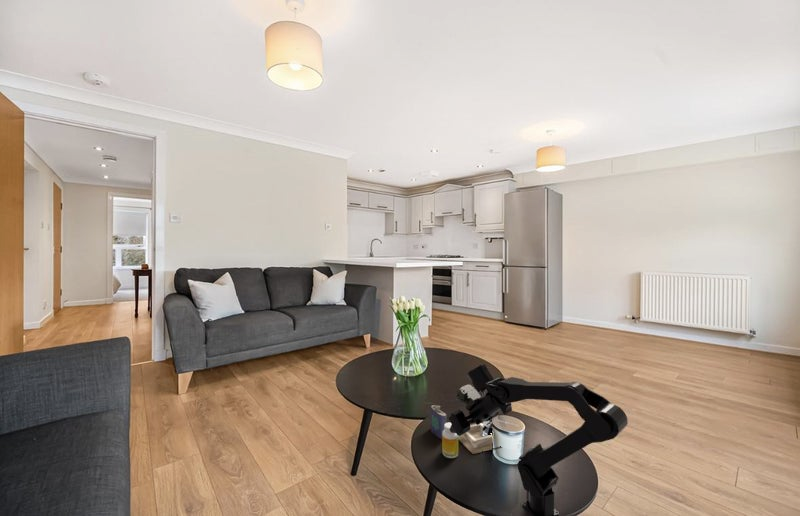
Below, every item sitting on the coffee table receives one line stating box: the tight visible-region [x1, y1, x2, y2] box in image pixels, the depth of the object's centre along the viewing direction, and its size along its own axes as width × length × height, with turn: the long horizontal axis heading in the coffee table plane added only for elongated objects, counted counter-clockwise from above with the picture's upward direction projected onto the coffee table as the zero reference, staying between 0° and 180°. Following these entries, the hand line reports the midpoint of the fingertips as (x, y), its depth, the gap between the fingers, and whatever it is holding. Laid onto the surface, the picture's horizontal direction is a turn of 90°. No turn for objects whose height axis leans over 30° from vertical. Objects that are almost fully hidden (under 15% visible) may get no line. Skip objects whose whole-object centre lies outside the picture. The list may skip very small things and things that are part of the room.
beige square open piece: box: [458, 422, 493, 455], centre depth 119 cm, size 12×12×4 cm
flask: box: [430, 404, 447, 440], centre depth 123 cm, size 9×3×11 cm, turn 25°
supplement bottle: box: [441, 421, 459, 459], centre depth 111 cm, size 5×5×10 cm
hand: (460, 426), depth 108 cm, fingers open, 9 cm apart
